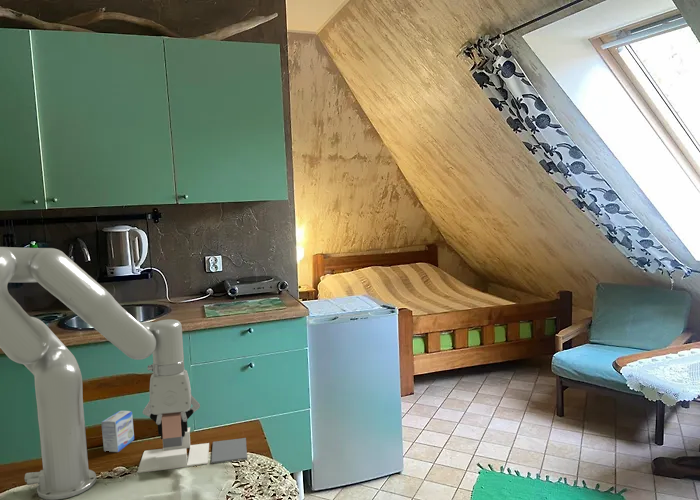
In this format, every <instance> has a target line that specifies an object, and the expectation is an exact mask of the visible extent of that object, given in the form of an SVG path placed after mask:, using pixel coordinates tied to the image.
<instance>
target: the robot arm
mask: <svg viewBox="0 0 700 500" xmlns="http://www.w3.org/2000/svg"><path fill="white" fill-rule="evenodd" d="M9 283H38V284H39V285H40V286H41V287H43V288H44V289H45V290H46V292H47V291H48V292H49V293H50V294H51V295H52V296H54V297H55V298H56V299H58V300H59V302H61V303H63V304H64V305H65V306H66V307H67V308H69V310H70V311H71V312H73V313H74V314H75V315H77V316H78V317H79V318H80V319H81V320H82V321H83V322H85V323H86V324H88V325H89V326H90V327H92V328H93V329H95V330H96V331H97V332H98V333H99V334H100V335H101V336H103V338H105V339H106V340H107V341H108V342H110V343H111V344H112V345H113V346H114V347H116V348H117V349H118V350H119V351H121V353H123V354H124V355H125V356H127V357H128V358H130V359H131V360H136V361H138V360H145V359H147V358H149V357H150V356H151V355H152V362H153V363H152V364H148V365H147V371H151V372H153V373H152V374H151V375H150V380H149V401H148V403H147V404H146V406H145V407H144V409H143V410H142V415H144V416H146V417H148V418H150V419H151V420H152V421H153V422H155V424H156V425H157V432H158V433H157V434H158V436H160V440H163V433H162V415H163V414H170V413H179V412H180V413H181V416H182V421H181V431H182V437H185V432H187V431H188V428H189V426H188V420H189V418H190V417H192V415H193V414H194V413H195V412H196V411H197V410H199V409H200V408H201V404H200V403H199V401H197V399H196V398H195V397H194V396H193V395H192V388H191V382H190V377H189V373H188V370H187V369H185V360H184V359H185V358H184V357H185V356H184V354H185V353H184V340H183V328H182V326H183V325H182V323H181V322H180V321H179V320H177V319H174V318H173V319H172V318H170V319H161V320H160V319H159V320H158V321H148V322H147V321H143V322H142V321H141V322H140V321H138V320H137V319H136V318H135V317H134V316H132V315H131V314H130V313H129V312H128V311H127V310H126V309H125V308H124V307H122V305H120V303H119V302H118V301H117V300H116V299H115V298H114V297H113V295H112V294H111V293H110V292H109V291H108V290H107V289H106V288H105V287H104V286H102V285H101V284H100V283H99V282H97V280H95V279H94V278H93V277H92V276H91V275H89V274H88V273H87V272H86V271H85V270H84V269H83V268H81V267H80V266H79V265H78V264H77V263H76V262H74V260H72V259H71V258H70V257H69V256H68V255H66V254H65V253H64V252H63V251H62V250H60V249H57V248H54V247H15V246H14V247H11V246H9V247H8V246H0V349H1V350H2V352H3V353H4V354H5V355H6V357H7V358H8V359H9V360H11V361H13V362H15V363H17V364H20V365H24V366H25V368H27V370H28V371H29V372H30V373H31V374H32V375H33V377H34V389H35V390H34V391H35V398H36V399H35V401H36V410H37V419H38V430H39V439H40V449H41V461H42V469H40V471H35V472H33V471H32V472H26V473H25V474H24V482H25V483H26V486H32V485H38V486H37V488H36V491H37V495H38V497H39V498H41V499H44V500H62V499H63V500H64V499H67V498H71V497H75V496H77V495H80V494H82V493H84V492H86V491H87V490H89V489H90V488H92V487H93V486H94V485H95V483H96V482H97V473H96V472H95V471H94V470H92V469H89V459H88V448H87V445H88V444H87V435H86V422H85V411H84V399H83V397H84V396H83V393H84V392H83V377H82V372H81V369H80V365H79V363H78V360H77V359H76V357H75V355H74V354H73V353H72V352H71V350H70V349H68V347H67V346H66V345H65V344H64V343H63V342H62V340H60V339H59V337H58V336H57V335H56V334H55V333H54V332H53V330H51V328H49V326H48V325H47V324H45V322H44V321H42V320H41V319H39V318H37V317H35V316H30V315H29V314H28V313H27V312H26V311H25V310H24V309H23V307H22V306H21V304H19V302H17V300H16V299H15V298H14V297H13V295H11V294H10V293H9V290H8V284H9Z"/></svg>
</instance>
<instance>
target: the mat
mask: <svg viewBox="0 0 700 500" xmlns="http://www.w3.org/2000/svg"><path fill="white" fill-rule="evenodd" d="M247 448H248V447H247V438H246V437H242V438H235V439H227V440H226V439H225V440H219V441H218V440H217V441H212V449H211V465H214V464H220V463H219V462H222V463H226V462H225V461H230V462H233V461H232V460H238V459H246V460H248V450H247ZM238 461H239V460H238ZM213 463H214V464H213Z"/></svg>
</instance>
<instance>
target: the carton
mask: <svg viewBox="0 0 700 500" xmlns="http://www.w3.org/2000/svg"><path fill="white" fill-rule="evenodd" d="M190 431H191V426H190V427H189V426H188V431H187V432H185V437H183V442H182V446H175V447H166V448H163V447H162V448H157V449H156V448H155V449H148V450H144V452H143V453H142V457H141V460H140V462H139V465H138V468H137V474H140V473H141V474H142V473H149V472H155V471H164V470H172V469H179V468H181V469H182V468H186V467H194V466H195V465H196V466H201V465H200V464H204V465H208V464H209V463H208V462H209V451H210V442H208V443H207V442H205V443H199V444H198V443H197V444H191V436H190V435H191V432H190ZM187 449H189V452H188V453H187Z"/></svg>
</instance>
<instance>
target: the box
mask: <svg viewBox="0 0 700 500" xmlns="http://www.w3.org/2000/svg"><path fill="white" fill-rule="evenodd" d="M181 421H182V416H181V413H180V412H179V413H170V414H163V415H162V433H163V439H162V449H163V448H166V447H175V446H182V442H183V437H182V431H181Z"/></svg>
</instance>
